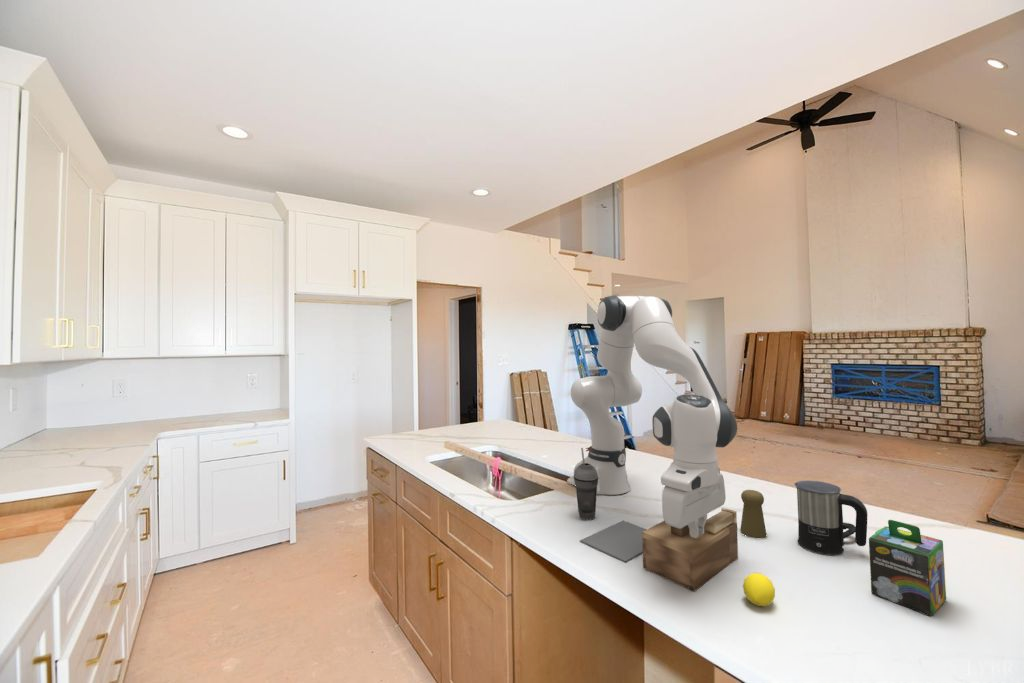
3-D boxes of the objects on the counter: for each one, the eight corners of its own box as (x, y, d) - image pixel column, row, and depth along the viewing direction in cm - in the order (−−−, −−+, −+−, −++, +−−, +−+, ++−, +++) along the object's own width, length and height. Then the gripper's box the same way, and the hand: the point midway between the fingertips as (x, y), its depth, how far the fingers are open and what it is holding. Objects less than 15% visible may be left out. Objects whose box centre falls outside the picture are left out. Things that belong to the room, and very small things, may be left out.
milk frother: (802, 552, 102) (800, 490, 102) (785, 525, 117) (784, 470, 117) (876, 562, 97) (874, 496, 97) (849, 532, 112) (847, 475, 112)
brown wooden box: (643, 568, 97) (642, 531, 97) (689, 540, 109) (688, 508, 109) (694, 591, 87) (693, 551, 87) (737, 558, 100) (737, 523, 100)
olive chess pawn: (770, 539, 109) (769, 496, 109) (744, 537, 110) (743, 494, 110) (761, 528, 115) (760, 487, 115) (737, 527, 116) (736, 486, 116)
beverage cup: (589, 524, 120) (587, 453, 120) (569, 517, 126) (567, 448, 126) (604, 517, 125) (603, 448, 125) (585, 510, 130) (583, 444, 130)
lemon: (772, 618, 79) (771, 591, 79) (740, 607, 83) (738, 581, 82) (778, 595, 85) (777, 570, 84) (747, 586, 88) (746, 561, 87)
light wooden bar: (702, 531, 96) (702, 519, 96) (723, 518, 102) (723, 507, 102) (716, 535, 94) (715, 523, 94) (736, 522, 100) (736, 511, 100)
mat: (580, 541, 110) (580, 540, 110) (623, 521, 121) (623, 520, 121) (625, 562, 99) (625, 561, 99) (668, 538, 111) (668, 537, 110)
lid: (642, 541, 97) (641, 519, 97) (680, 521, 107) (679, 501, 107) (693, 562, 87) (692, 537, 87) (729, 537, 97) (728, 515, 97)
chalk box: (947, 600, 82) (945, 523, 82) (932, 618, 77) (930, 536, 77) (885, 578, 90) (884, 508, 90) (868, 593, 85) (867, 519, 85)
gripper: (705, 459, 101) (706, 517, 101) (655, 478, 89) (657, 545, 89) (732, 464, 96) (733, 526, 97) (684, 485, 84) (686, 556, 84)
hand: (696, 535), depth 92 cm, fingers closed
